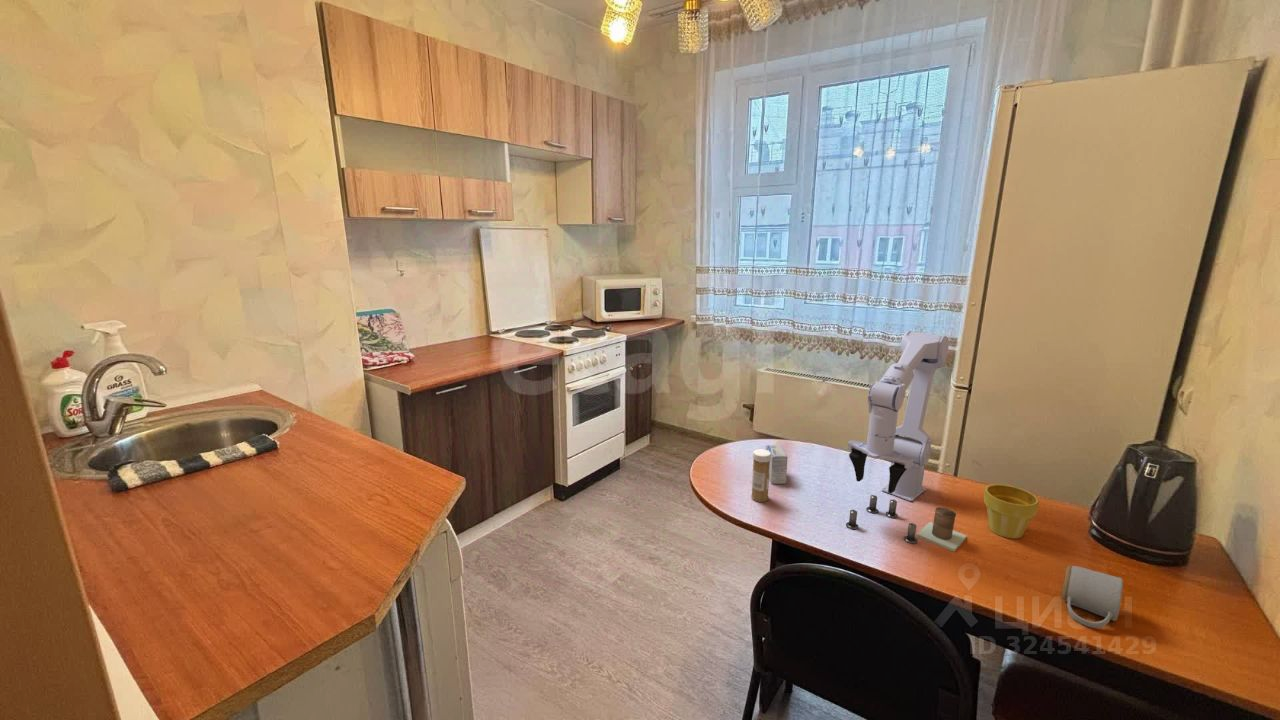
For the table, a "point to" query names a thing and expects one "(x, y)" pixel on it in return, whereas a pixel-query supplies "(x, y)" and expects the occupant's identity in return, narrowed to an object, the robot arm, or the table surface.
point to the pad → (948, 544)
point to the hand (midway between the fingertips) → (875, 485)
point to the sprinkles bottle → (760, 475)
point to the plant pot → (1009, 509)
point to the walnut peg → (943, 523)
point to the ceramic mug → (1092, 594)
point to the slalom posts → (891, 514)
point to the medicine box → (777, 464)
